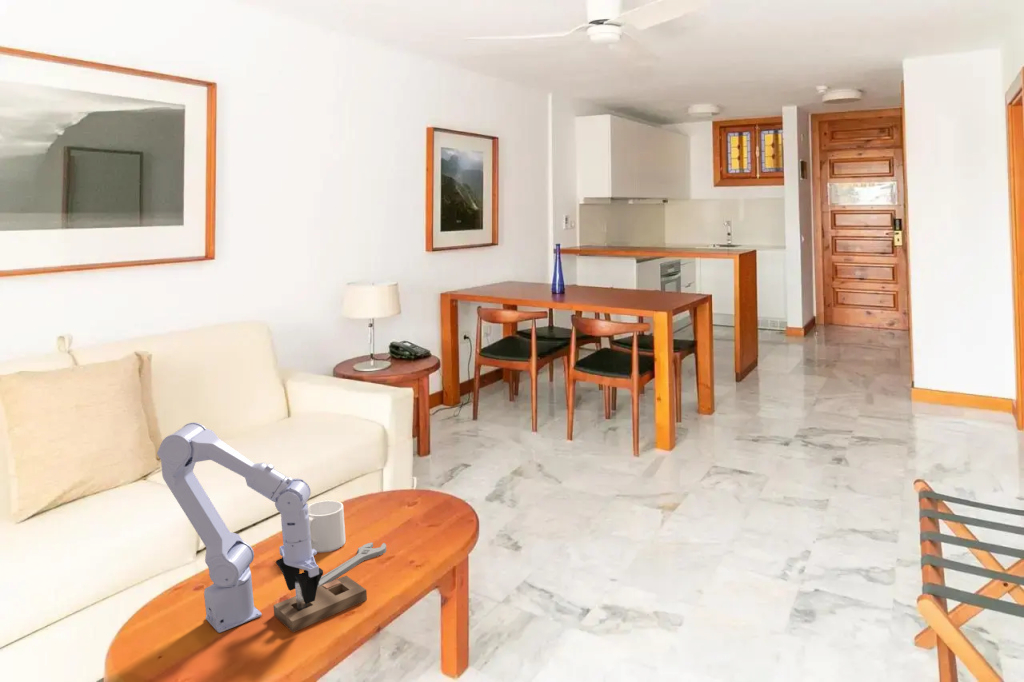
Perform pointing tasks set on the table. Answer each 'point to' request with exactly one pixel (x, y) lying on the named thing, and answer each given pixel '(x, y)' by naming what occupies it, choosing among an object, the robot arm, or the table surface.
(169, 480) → the robot arm
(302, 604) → the steel pin
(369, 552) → the adjustable wrench
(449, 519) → the table surface
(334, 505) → the mug
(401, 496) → the table surface
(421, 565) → the table surface
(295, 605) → the dock board
